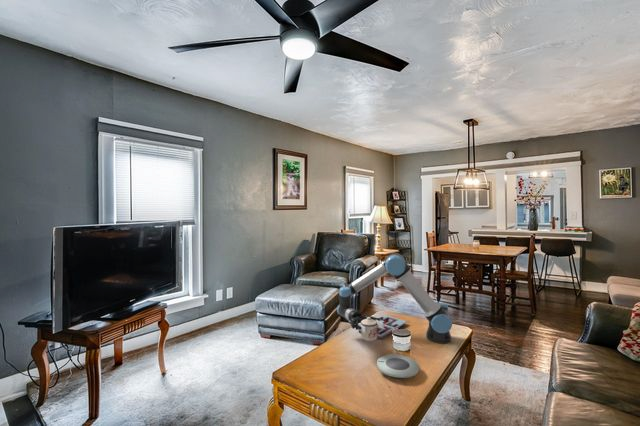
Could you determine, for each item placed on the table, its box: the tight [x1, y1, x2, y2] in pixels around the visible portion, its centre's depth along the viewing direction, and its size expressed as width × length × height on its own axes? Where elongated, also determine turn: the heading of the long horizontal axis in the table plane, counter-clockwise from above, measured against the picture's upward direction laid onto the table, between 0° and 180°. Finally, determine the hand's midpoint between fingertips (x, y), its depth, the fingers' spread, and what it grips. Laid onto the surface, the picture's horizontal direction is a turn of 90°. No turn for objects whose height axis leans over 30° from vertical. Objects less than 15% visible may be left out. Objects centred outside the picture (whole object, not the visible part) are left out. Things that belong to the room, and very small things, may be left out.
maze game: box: [357, 314, 408, 340], centre depth 216 cm, size 35×20×3 cm, turn 136°
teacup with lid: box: [360, 317, 378, 342], centre depth 177 cm, size 12×9×12 cm
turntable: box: [376, 353, 420, 379], centre depth 159 cm, size 21×21×2 cm
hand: (374, 327), depth 173 cm, fingers closed on teacup with lid, 12 cm apart
